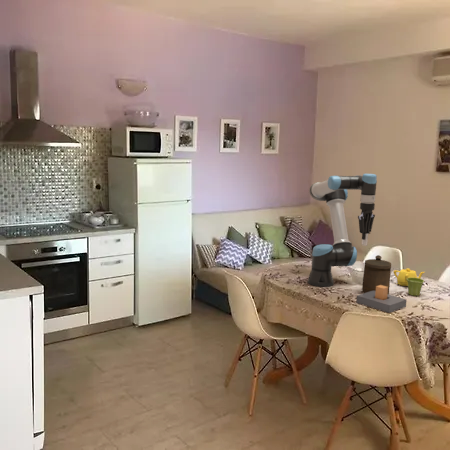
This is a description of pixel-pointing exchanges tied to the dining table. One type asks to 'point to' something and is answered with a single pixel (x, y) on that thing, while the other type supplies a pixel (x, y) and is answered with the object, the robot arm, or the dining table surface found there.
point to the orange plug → (381, 292)
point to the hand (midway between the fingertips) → (364, 245)
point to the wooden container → (376, 274)
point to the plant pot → (414, 286)
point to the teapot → (406, 276)
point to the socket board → (381, 302)
